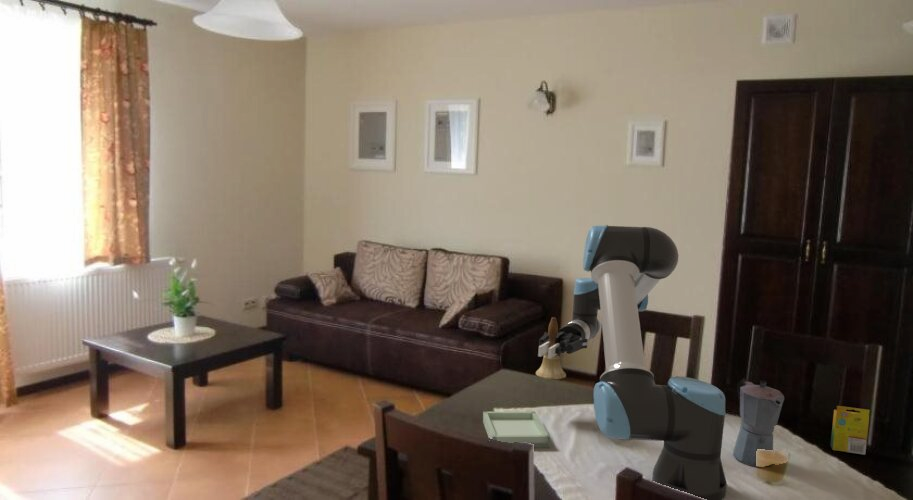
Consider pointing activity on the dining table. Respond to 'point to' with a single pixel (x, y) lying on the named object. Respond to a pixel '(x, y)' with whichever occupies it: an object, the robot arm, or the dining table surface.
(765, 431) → the moka pot
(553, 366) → the hand bell
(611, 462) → the dining table surface
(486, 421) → the tray
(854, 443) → the crayon box
